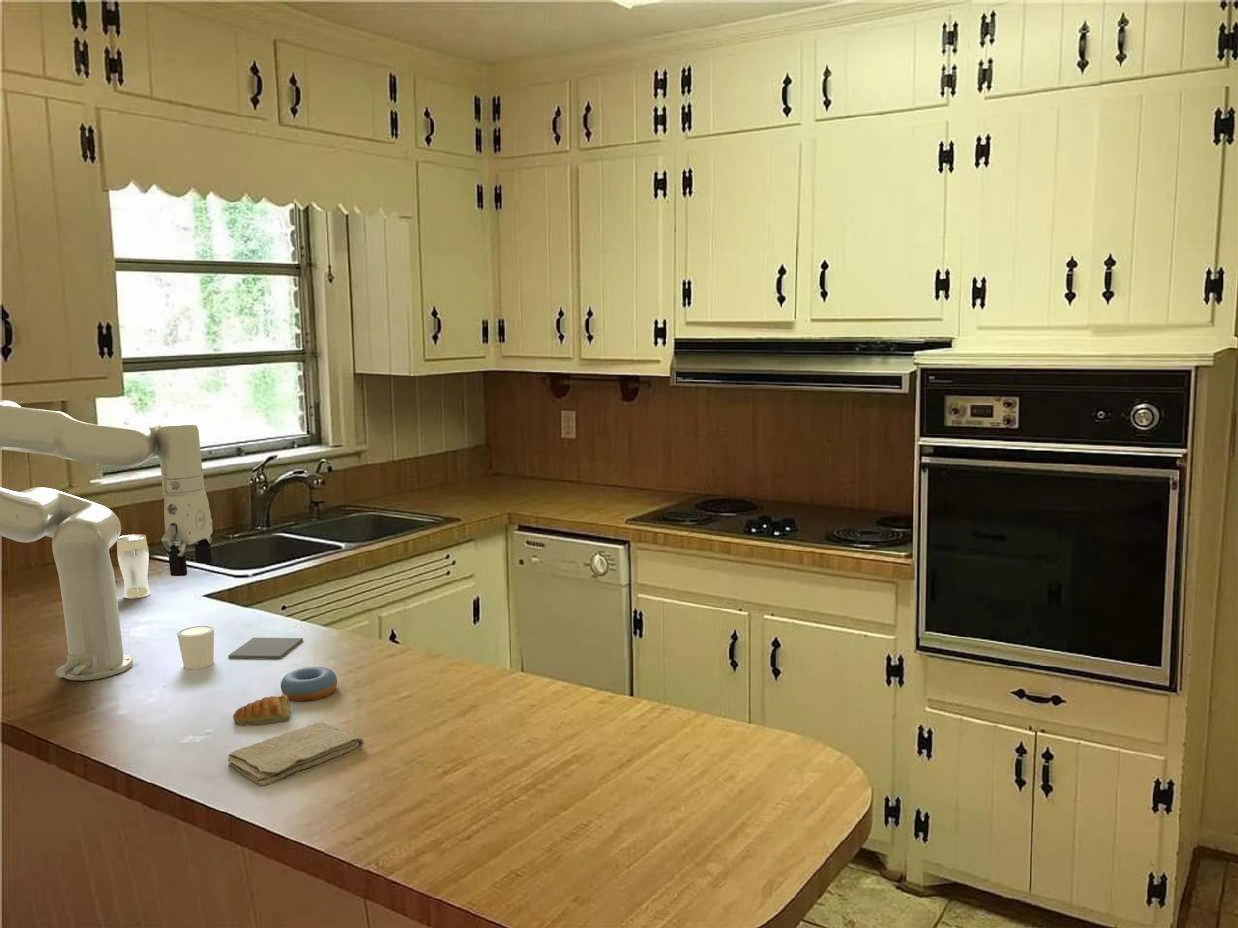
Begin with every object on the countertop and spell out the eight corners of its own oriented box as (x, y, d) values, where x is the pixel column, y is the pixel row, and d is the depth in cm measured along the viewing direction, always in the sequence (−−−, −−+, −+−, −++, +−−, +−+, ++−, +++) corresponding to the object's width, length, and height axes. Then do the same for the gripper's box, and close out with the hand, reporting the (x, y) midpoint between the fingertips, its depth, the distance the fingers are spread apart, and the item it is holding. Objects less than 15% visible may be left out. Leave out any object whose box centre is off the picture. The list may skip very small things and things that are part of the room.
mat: (280, 658, 204) (280, 655, 204) (228, 658, 206) (228, 655, 206) (302, 640, 215) (302, 637, 215) (253, 640, 216) (253, 637, 216)
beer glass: (158, 593, 255) (152, 535, 252) (132, 600, 249) (126, 541, 246) (142, 590, 258) (136, 533, 256) (116, 597, 253) (109, 538, 250)
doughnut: (269, 694, 185) (269, 670, 184) (314, 680, 193) (315, 657, 192) (302, 711, 179) (302, 687, 178) (348, 696, 187) (348, 672, 186)
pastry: (233, 731, 170) (231, 709, 170) (234, 716, 176) (232, 696, 176) (292, 722, 173) (290, 701, 173) (290, 708, 180) (288, 687, 179)
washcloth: (222, 769, 157) (221, 750, 156) (324, 731, 170) (322, 713, 169) (262, 792, 149) (261, 772, 148) (365, 750, 162) (364, 732, 162)
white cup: (204, 670, 199) (200, 636, 198) (172, 669, 200) (169, 635, 199) (224, 658, 205) (221, 625, 204) (193, 657, 207) (190, 624, 206)
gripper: (178, 493, 191) (187, 580, 193) (222, 477, 208) (230, 558, 210) (140, 493, 191) (150, 581, 194) (188, 477, 208) (196, 558, 211)
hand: (192, 569), depth 202 cm, fingers open, 9 cm apart
